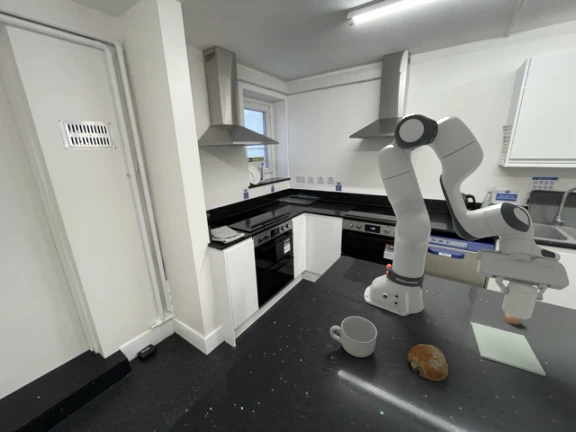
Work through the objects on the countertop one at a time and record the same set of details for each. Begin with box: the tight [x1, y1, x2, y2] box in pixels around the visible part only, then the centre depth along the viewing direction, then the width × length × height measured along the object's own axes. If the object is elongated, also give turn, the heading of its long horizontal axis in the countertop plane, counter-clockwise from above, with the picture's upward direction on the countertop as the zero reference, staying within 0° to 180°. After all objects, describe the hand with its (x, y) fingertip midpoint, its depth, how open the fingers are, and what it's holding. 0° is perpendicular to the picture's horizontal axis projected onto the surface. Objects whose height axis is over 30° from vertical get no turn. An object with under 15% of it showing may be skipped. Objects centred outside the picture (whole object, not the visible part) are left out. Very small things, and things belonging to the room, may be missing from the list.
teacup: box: [329, 315, 378, 358], centre depth 75 cm, size 14×11×8 cm
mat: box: [471, 322, 547, 377], centre depth 75 cm, size 14×16×1 cm
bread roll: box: [407, 343, 449, 382], centre depth 68 cm, size 10×10×8 cm
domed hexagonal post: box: [501, 281, 539, 320], centre depth 71 cm, size 6×6×9 cm
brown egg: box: [503, 313, 522, 326], centre depth 86 cm, size 4×4×3 cm
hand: (521, 296), depth 70 cm, fingers closed on domed hexagonal post, 6 cm apart
